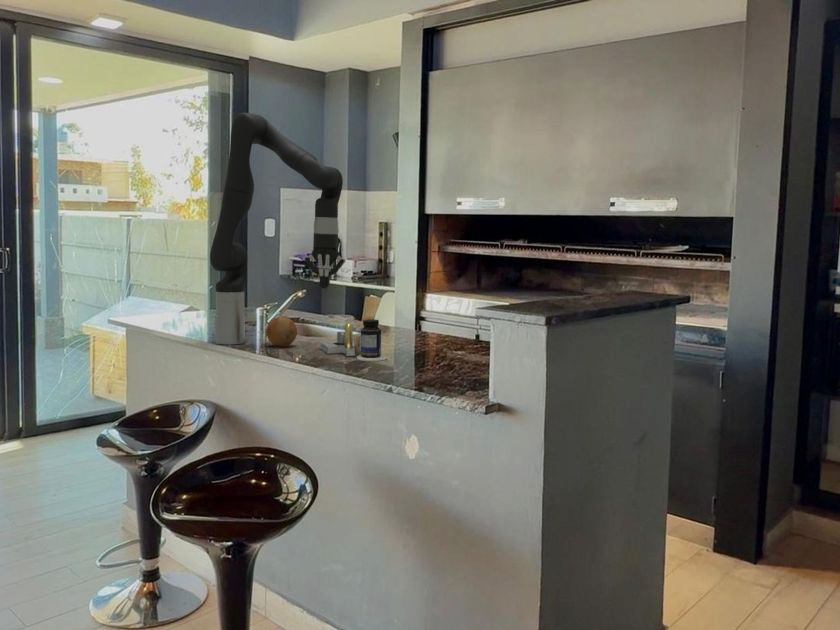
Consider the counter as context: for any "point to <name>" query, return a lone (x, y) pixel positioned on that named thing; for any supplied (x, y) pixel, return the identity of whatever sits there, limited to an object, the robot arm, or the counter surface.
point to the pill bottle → (370, 339)
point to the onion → (281, 331)
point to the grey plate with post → (346, 349)
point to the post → (340, 338)
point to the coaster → (372, 358)
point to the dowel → (357, 345)
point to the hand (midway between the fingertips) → (324, 288)
